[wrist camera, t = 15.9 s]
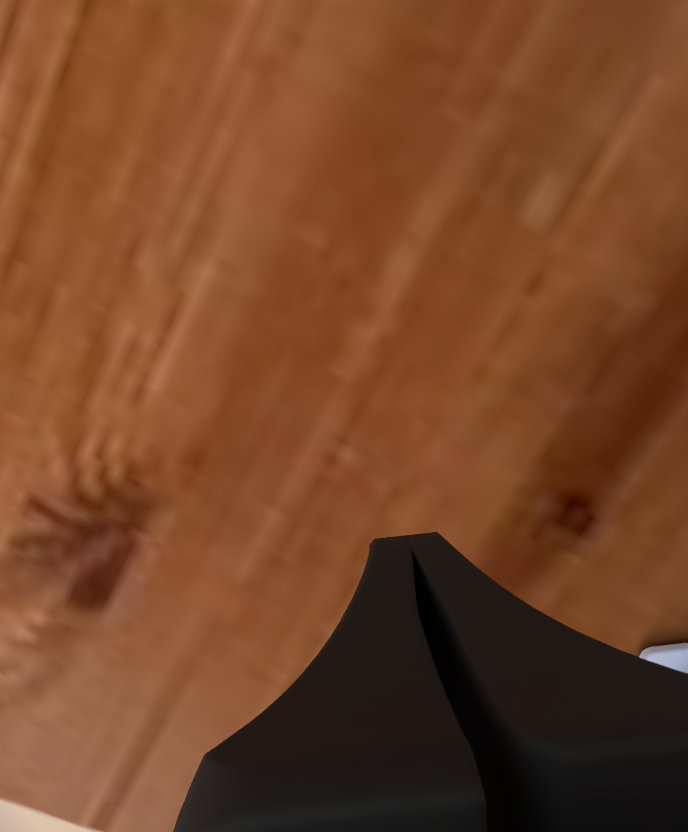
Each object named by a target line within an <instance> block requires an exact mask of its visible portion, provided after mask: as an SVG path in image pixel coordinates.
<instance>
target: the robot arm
mask: <svg viewBox="0 0 688 832" xmlns="http://www.w3.org/2000/svg"><path fill="white" fill-rule="evenodd" d="M173 832H688V643H680V644H671V645H662V646H653V647H649V648H646V649H645V650H643V651H642V652H641V654H640V656H639V657H637V656H634V655H632V654H629V653H626V652H624V651H621V650H618V649H616V648H614V647H611V646H609V645H607V644H604V643H602V642H600V641H598V640H595V639H593V638H591V637H588V636H586V635H584V634H582V633H580V632H578V631H576V630H573V629H571V628H569V627H567V626H565V625H564V624H562V623H560V622H558V621H556V620H554V619H553V618H551V617H549V616H547V615H545V614H544V613H542V612H540V611H538V610H536V609H535V608H533V607H532V606H530V605H528V604H527V603H525V602H523V601H522V600H520V599H519V598H518V597H516V596H515V595H513V594H512V593H510V592H509V591H507V590H506V589H504V588H503V587H501V586H500V585H499V584H497V583H496V582H495V581H493V580H492V579H491V578H489V577H488V576H487V575H486V574H484V573H483V572H482V571H481V570H479V569H478V568H477V567H476V566H475V565H473V564H472V563H471V562H470V561H469V560H468V559H466V558H465V557H464V556H463V555H462V554H461V553H460V552H459V551H457V550H456V549H455V548H454V547H453V546H452V545H451V544H450V543H449V542H448V541H447V540H445V539H444V538H443V537H442V536H441V535H440V534H438V533H437V532H433V533H424V534H415V535H406V536H396V537H387V538H378V539H374V540H373V542H372V543H371V544H370V550H369V556H368V560H367V563H366V566H365V569H364V572H363V575H362V577H361V580H360V582H359V584H358V587H357V589H356V591H355V594H354V596H353V598H352V600H351V602H350V604H349V605H348V607H347V609H346V611H345V613H344V615H343V617H342V619H341V620H340V622H339V624H338V625H337V627H336V629H335V630H334V632H333V633H332V635H331V636H330V638H329V639H328V641H327V642H326V644H325V645H324V646H323V648H322V649H321V651H320V652H319V653H318V655H317V656H316V657H315V658H314V660H313V661H312V662H311V663H310V664H309V666H308V667H307V668H306V669H305V671H304V672H303V673H302V674H301V675H300V676H299V678H298V679H297V680H296V681H295V682H294V683H293V684H292V685H291V686H290V687H289V688H288V689H287V690H286V691H285V692H284V693H283V694H282V695H281V696H280V697H279V698H278V699H277V700H276V701H275V702H273V703H272V704H271V705H270V706H269V707H268V708H267V709H265V710H264V711H263V712H262V713H261V714H260V715H258V716H257V717H256V718H255V719H253V720H252V721H251V722H250V723H248V724H247V725H245V726H244V727H243V728H241V729H240V730H238V731H237V732H236V733H234V734H233V735H232V736H230V737H229V738H227V739H226V740H225V741H223V742H222V743H221V744H219V745H218V746H216V747H215V748H213V749H212V750H210V751H209V752H207V753H206V754H205V755H204V757H203V759H202V761H201V763H200V765H199V767H198V770H197V772H196V774H195V777H194V779H193V781H192V784H191V786H190V788H189V791H188V793H187V796H186V799H185V801H184V803H183V806H182V808H181V811H180V813H179V816H178V819H177V822H176V825H175V828H174V831H173Z"/></svg>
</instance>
